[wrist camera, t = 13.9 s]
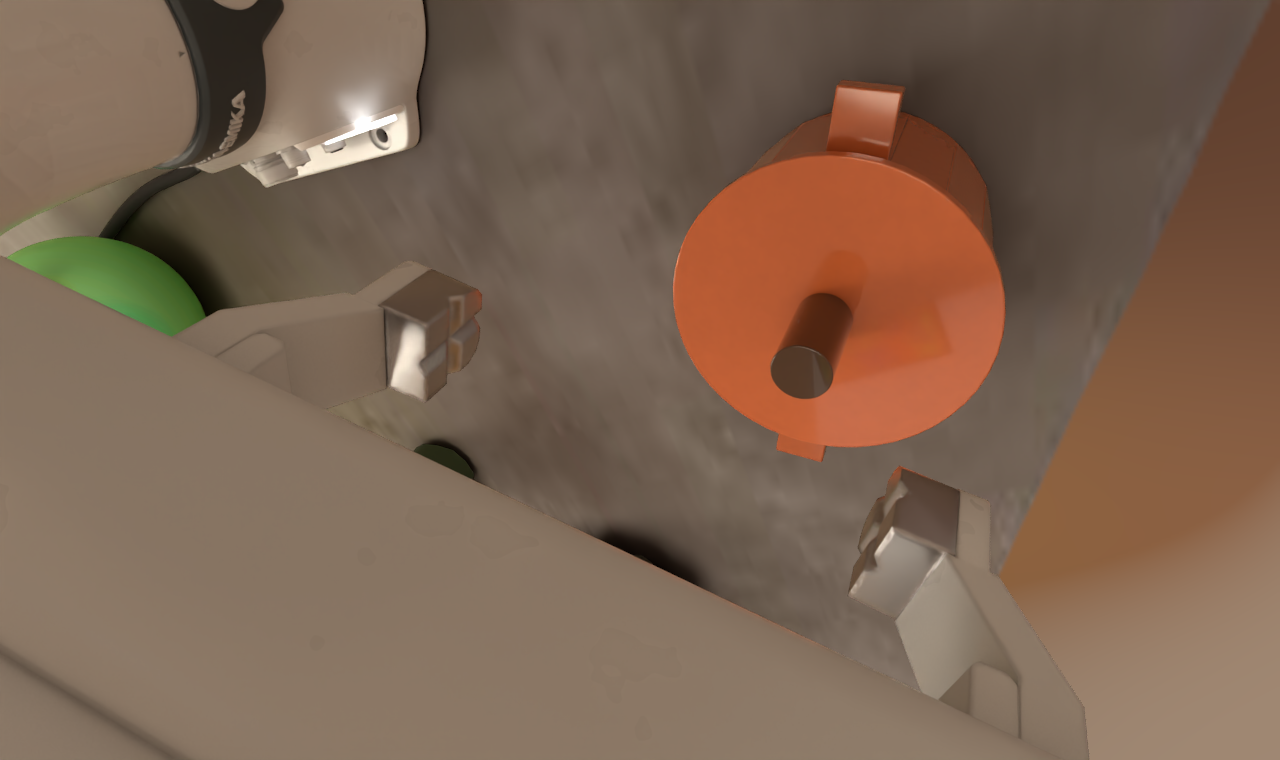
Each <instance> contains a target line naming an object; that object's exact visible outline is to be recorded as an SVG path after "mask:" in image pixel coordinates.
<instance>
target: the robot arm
mask: <svg viewBox="0 0 1280 760" xmlns="http://www.w3.org/2000/svg"><path fill="white" fill-rule="evenodd" d="M425 42H426V27H425V15H424V7H423V1H422V0H0V236H1V235H2V234H4V233H5V232H7V231H9V230H10V229H12V228H13V227H15V226H17V225H18V224H20V223H22V222H24V221H26V220H28V219H30V218H32V217H34V216H36V215H38V214H40V213H42V212H44V211H47V210H49V209H51V208H53V207H56V206H58V205H60V204H62V203H65V202H67V201H69V200H71V199H74V198H76V197H78V196H81V195H83V194H85V193H88V192H90V191H93V190H95V189H97V188H100V187H102V186H105V185H107V184H110V183H112V182H115V181H117V180H120V179H123V178H125V177H128V176H130V175H133V174H136V173H138V172H141V171H144V170H146V169H149V168H156V169H175V168H177V169H175V170H173V171H170V172H168V173H166V174H163V175H161V176H159V177H157V178H155V179H153V180H151V181H150V182H148V183H146V184H145V185H143V186H142V187H140V188H139V189H138V190H137V191H135V192H134V193H133V194H132V195H131V196H130V197H129V198H128V199H127V200H126V201H125V202H124V203H123V204H122V205H121V207H120V208H119V209H118V210H117V212H116V213H115V214H114V215H113V217H112V218H111V220H110V221H109V222H108V224H107V225H106V227H105V228H104V229H103V231H102V232H101V234H100V235H99V237H100V238H107V239H112V240H113V239H114V237H115V236H116V235H117V233H118V232H119V231H120V229H121V228H122V227H123V225H124V224H125V223H126V222H127V220H128V219H129V218H130V217H131V215H132V214H133V213H134V212H135V211H136V210H137V209H138V208H139V207H140V206H141V205H142V204H143V203H144V202H145V201H146V200H148V199H149V198H150V197H151V196H153V195H154V194H156V193H157V192H159V191H161V190H163V189H166V188H168V187H170V186H172V185H175V184H177V183H180V182H182V181H184V180H187V179H189V178H191V177H193V176H194V175H196V174H198V173H199V172H200V171H201V170H203V171H205V172H209V173H216V172H219V171H221V170H224V169H227V168H230V167H233V166H236V165H239V164H240V165H241V166H242V167H243V168H244V169H246V170H247V171H248V172H249V173H250V174H252V175H253V176H254V177H256V178H257V179H258V180H260V181H261V183H262V185H264V186H265V188H266V187H270V186H273V185H275V184H279V183H282V182H286V181H290V180H294V179H298V178H302V177H305V176H309V175H313V174H317V173H320V172H324V171H328V170H332V169H336V168H339V167H343V166H347V165H351V164H355V163H358V162H362V161H366V160H370V159H374V158H377V157H381V156H385V155H389V154H393V153H396V152H400V151H404V150H407V149H411V148H413V147H414V146H416V144H417V143H418V140H419V133H420V128H419V116H418V108H417V100H416V95H417V87H418V82H419V78H420V74H421V70H422V66H423V61H424V54H425ZM384 131H385V132H386V133H387V136H388V138H387V137H386V135H385V133H384ZM481 309H482V294H481V293H480V292H479V290H478V289H476V288H474V287H471V286H469V285H467V284H465V283H462V282H460V281H458V280H456V279H453V278H451V277H449V276H447V275H444V274H442V273H440V272H438V271H435V270H432V269H430V268H428V267H426V266H423V265H421V264H419V263H416V262H414V261H405V262H404V263H402V264H400V265H399V266H397V267H396V268H394V269H393V270H391V271H390V272H388V273H387V274H385V275H384V276H382V277H380V278H379V279H377V280H376V281H374V282H373V283H371V284H370V285H368V286H367V287H365V288H364V289H362V290H360V291H359V292H357V293H356V294H354V295H352V294H349V293H347V292H346V293H338V294H331V295H324V296H317V297H309V298H302V299H295V300H288V301H280V302H273V303H266V304H259V305H252V306H244V307H237V308H230V309H223V310H218V311H217V312H215V313H213V314H211V315H209V316H208V317H206V318H204V319H202V320H201V321H199V322H197V323H195V324H193V325H192V326H190V327H188V328H186V329H185V330H183V331H181V332H179V333H177V334H176V335H174V336H172V337H171V336H169V335H166V334H164V333H162V332H160V331H158V330H156V329H154V328H152V327H150V326H148V325H145V324H143V323H141V322H139V321H137V320H135V319H133V318H131V317H129V316H126V315H124V314H122V313H120V312H118V311H116V310H114V309H112V308H110V307H108V306H105V305H103V304H101V303H99V302H97V301H95V300H93V299H91V298H89V297H86V296H84V295H82V294H80V293H78V292H76V291H74V290H72V289H70V288H68V287H65V286H63V285H61V284H59V283H57V282H55V281H53V280H51V279H49V278H46V277H44V276H42V275H40V274H38V273H36V272H34V271H32V270H30V269H28V268H26V267H24V266H22V265H20V264H18V263H16V262H14V261H12V260H10V259H8V258H5V257H3V256H0V760H1089V751H1088V741H1087V730H1086V719H1085V710H1084V706H1083V704H1082V703H1081V702H1080V700H1079V698H1078V697H1077V695H1076V694H1075V692H1074V691H1073V689H1072V688H1071V686H1070V685H1069V683H1068V682H1067V680H1066V679H1065V677H1064V675H1063V674H1062V673H1061V671H1060V669H1059V668H1058V666H1057V665H1056V663H1055V662H1054V660H1053V659H1052V657H1051V655H1050V654H1049V653H1048V651H1047V649H1046V648H1045V646H1044V645H1043V643H1042V642H1041V640H1040V639H1039V637H1038V636H1037V634H1036V633H1035V631H1034V629H1033V628H1032V627H1031V625H1030V623H1029V622H1028V620H1027V619H1026V617H1025V616H1024V615H1023V613H1022V611H1021V610H1020V608H1019V607H1018V605H1017V603H1016V602H1015V600H1014V599H1013V597H1012V596H1011V594H1010V593H1009V591H1008V590H1007V588H1006V587H1005V585H1004V584H1003V582H1002V581H1001V579H1000V577H999V576H997V575H995V574H993V573H991V572H990V520H991V505H990V503H989V502H988V500H985V499H983V498H980V497H978V496H975V495H972V494H970V493H967V492H965V491H962V490H960V489H955V488H952V487H950V486H947V485H945V484H943V483H940V482H938V481H935V480H933V479H930V478H928V477H926V476H923V475H921V474H918V473H916V472H913V471H911V470H909V469H906V468H904V467H901V466H899V467H898V468H897V469H896V470H895V471H894V473H893V474H892V476H891V477H890V479H889V481H888V484H887V489H886V494H885V496H883V497H880V498H878V499H877V500H876V502H875V504H874V505H873V507H872V509H871V511H870V513H869V515H868V517H867V519H866V521H865V524H864V526H863V529H862V532H861V536H860V539H859V544H858V549H859V551H860V553H861V556H860V557H859V559H858V560H857V562H856V564H855V565H854V567H853V572H852V577H851V582H850V587H849V591H848V597H850V598H852V599H854V600H856V601H858V602H860V603H862V604H864V605H866V606H869V607H871V608H873V609H875V610H877V611H879V612H881V613H883V614H885V615H887V616H889V617H891V618H893V619H895V620H896V621H895V624H896V626H897V629H898V632H899V634H900V637H901V640H902V642H903V645H904V648H905V650H906V653H907V656H908V658H909V661H910V664H911V666H912V669H913V672H914V674H915V677H916V680H917V682H918V685H919V687H920V690H921V692H920V691H918V690H916V689H914V688H911V687H909V686H907V685H905V684H903V683H901V682H899V681H897V680H895V679H892V678H890V677H888V676H886V675H884V674H882V673H880V672H878V671H876V670H873V669H871V668H869V667H867V666H865V665H863V664H861V663H859V662H857V661H855V660H852V659H850V658H848V657H846V656H844V655H842V654H840V653H838V652H835V651H833V650H831V649H829V648H827V647H825V646H823V645H820V644H818V643H816V642H814V641H812V640H810V639H808V638H806V637H803V636H801V635H799V634H797V633H795V632H793V631H791V630H789V629H786V628H784V627H782V626H780V625H778V624H776V623H774V622H772V621H770V620H767V619H765V618H763V617H761V616H759V615H757V614H755V613H753V612H751V611H749V610H746V609H744V608H742V607H740V606H738V605H736V604H734V603H732V602H730V601H728V600H725V599H723V598H721V597H719V596H717V595H715V594H713V593H711V592H709V591H707V590H704V589H702V588H700V587H698V586H696V585H694V584H692V583H690V582H688V581H685V580H683V579H681V578H679V577H677V576H675V575H673V574H671V573H669V572H667V571H664V570H662V569H660V568H658V567H656V566H654V565H652V564H650V563H648V562H646V561H643V560H641V559H639V558H637V557H635V556H633V555H631V554H629V553H627V552H625V551H622V550H620V549H618V548H616V547H614V546H612V545H610V544H608V543H605V542H603V541H601V540H599V539H597V538H595V537H593V536H591V535H589V534H586V533H584V532H582V531H580V530H578V529H576V528H574V527H572V526H570V525H567V524H565V523H563V522H561V521H559V520H557V519H555V518H553V517H550V516H548V515H546V514H544V513H542V512H540V511H538V510H536V509H534V508H531V507H529V506H527V505H525V504H523V503H521V502H519V501H517V500H514V499H512V498H510V497H508V496H506V495H504V494H502V493H500V492H498V491H495V490H493V489H491V488H489V487H487V486H485V485H483V484H481V483H478V482H476V481H474V480H472V479H470V478H468V477H466V476H464V475H462V474H459V473H457V472H455V471H453V470H451V469H449V468H447V467H445V466H443V465H440V464H438V463H436V462H434V461H432V460H430V459H428V458H426V457H424V456H422V455H419V454H417V453H415V452H413V451H411V450H409V449H407V448H405V447H403V446H400V445H398V444H396V443H394V442H392V441H390V440H388V439H386V438H384V437H381V436H379V435H377V434H375V433H373V432H371V431H369V430H367V429H365V428H362V427H360V426H358V425H356V424H354V423H352V422H350V421H348V420H346V419H344V418H341V417H339V416H337V415H335V414H333V413H331V412H329V411H327V410H325V409H328V408H331V407H334V406H337V405H340V404H343V403H346V402H349V401H352V400H355V399H358V398H361V397H364V396H367V395H370V394H373V393H375V392H378V391H381V390H384V389H386V388H387V387H389V388H391V389H394V390H396V391H398V392H401V393H403V394H405V395H408V396H410V397H413V398H415V399H417V400H420V401H422V402H424V403H426V402H427V401H428V400H429V399H431V398H432V397H433V396H434V395H435V394H436V393H437V392H438V391H439V390H440V389H441V388H443V387H444V386H445V385H446V384H447V374H451V373H455V372H459V371H461V370H462V369H463V368H464V367H465V366H466V365H467V364H468V363H469V362H470V360H471V358H472V357H473V355H474V353H475V351H476V349H477V346H478V342H479V338H480V327H479V325H478V323H477V321H476V319H475V317H474V315H475V314H477V313H478V312H479V311H480V310H481Z"/></svg>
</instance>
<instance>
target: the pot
mask: <svg viewBox="0 0 1280 760" xmlns="http://www.w3.org/2000/svg"><path fill="white" fill-rule="evenodd" d="M904 92H905V87H903V86H894V85H885V84H876V83H867V82H858V81H849V80H841V81H840V82H839V84H838V85H837V87H836V91H835V97H834V103H833V110H832V112H831V113H828V114H825V115H822V116H820V117H817V118H814V119H812V120H810V121H806V122H804V123H802V124H801V125H800V126H798V127H797V128H796V129H794V130H793V131H791V132H790V133H788V134H787V135H786V136H784V137H783V138H782V139H781V140H780V141H779V142H778V143H777V144H775V145H774V146H773V147H771V148H770V149H769V150H768V151H766V152H765V153H764V154H763V155H762V157H761V158H760V159H759V160H758V161H757V162H756V163H755V165H754V166H753V167H752V168H751V169H750V170H749V171H751V170H753V169H755V168H757V167H759V166H761V165H763V164H765V163H769V162H772V161H775V160H778V159H781V158H784V157H787V156H793V155H798V154H803V153H808V152H826V151H838V152H852V153H860V154H865V155H870V156H874V157H879V158H883V159H886V160H889V161H892V162H894V163H897V164H900V165H903V166H906V167H908V168H910V169H912V170H914V171H916V172H918V173H920V174H921V175H923V176H925V177H927V178H929V179H930V180H932V181H933V182H935V183H936V184H937V185H939V186H940V187H942V188H943V189H945V190H946V191H948V192H949V193H950V194H951V195H952V196H953V197H954V198H955V199H956V200H957V201H958V202H960V203H961V204H962V205H963V206H964V207H965V208H966V209H967V211H968V212H969V213H970V214H971V215H972V217H973V218H974V219H975V220H976V222H977V223H978V224H979V225H980V227H981V228H982V230H983V232H984V234H985V235H986V237H987V239H988V240H989V242H990V244H991V245H992V248H993V228H992V221H991V210H990V203H989V199H988V193H987V187H986V185H985V183H984V181H983V180H982V177H981V175H980V173H979V171H978V170H977V168H976V166H975V165H974V163H973V161H972V160H971V158H970V157H969V156H968V155H967V153H966V152H965V151H964V150H963V148H962V147H961V146H960V145H959V144H957V143H956V141H954V140H953V139H952V138H951V137H950V136H949V135H947V134H946V133H945V132H943V131H942V130H940V129H939V128H937V127H936V126H934V125H932V124H930V123H928V122H926V121H924V120H922V119H920V118H918V117H915V116H912V115H909V114H906V113H903V112H900V110H901V106H902V101H903V97H904ZM826 447H827V446H825V445H818V444H813V443H809V442H804V441H800V440H797V439H793V438H790V437H787V436H784V435H781V434H779V435H778V441H777V447H776V449H777V450H779V451H782V452H786V453H790V454H793V455H797V456H801V457H804V458H808V459H812V460H815V461H819V462H822V461H823V458H824V455H825V452H826Z"/></svg>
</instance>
